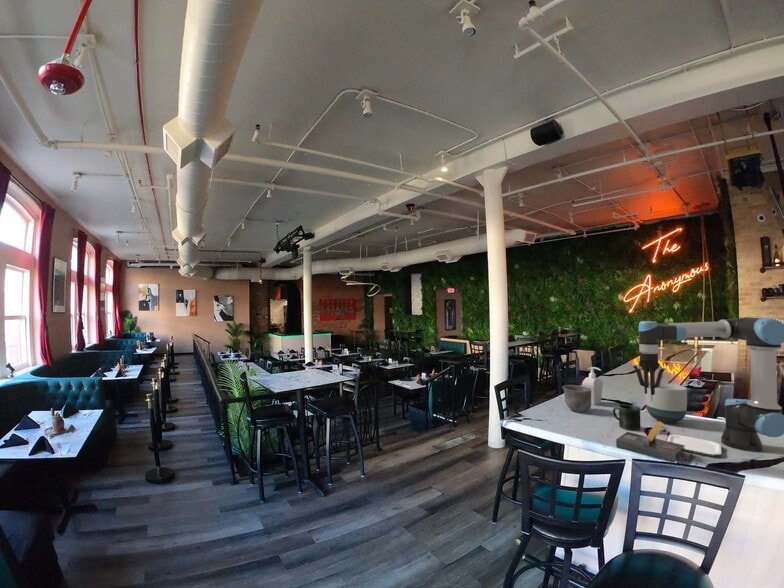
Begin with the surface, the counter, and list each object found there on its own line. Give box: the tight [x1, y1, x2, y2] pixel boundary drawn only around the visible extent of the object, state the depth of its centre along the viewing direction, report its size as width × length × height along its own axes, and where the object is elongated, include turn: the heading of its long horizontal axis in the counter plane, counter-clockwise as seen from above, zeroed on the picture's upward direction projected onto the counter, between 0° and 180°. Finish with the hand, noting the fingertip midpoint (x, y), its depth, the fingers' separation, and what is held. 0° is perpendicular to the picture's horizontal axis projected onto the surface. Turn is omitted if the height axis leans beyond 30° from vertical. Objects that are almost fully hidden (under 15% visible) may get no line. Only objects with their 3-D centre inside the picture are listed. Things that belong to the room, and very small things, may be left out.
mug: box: [612, 404, 642, 432], centre depth 212 cm, size 11×15×12 cm
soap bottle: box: [581, 366, 604, 406], centre depth 261 cm, size 12×10×26 cm
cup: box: [562, 384, 592, 413], centre depth 245 cm, size 18×18×15 cm
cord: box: [685, 453, 694, 463], centre depth 169 cm, size 1×10×1 cm, turn 131°
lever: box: [646, 420, 665, 442], centre depth 178 cm, size 2×8×11 cm, turn 130°
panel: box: [615, 431, 686, 463], centre depth 179 cm, size 24×16×7 cm, turn 40°
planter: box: [644, 381, 688, 424], centre depth 222 cm, size 20×20×21 cm
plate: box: [666, 434, 723, 457], centre depth 183 cm, size 21×21×2 cm
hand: (650, 401), depth 179 cm, fingers closed
